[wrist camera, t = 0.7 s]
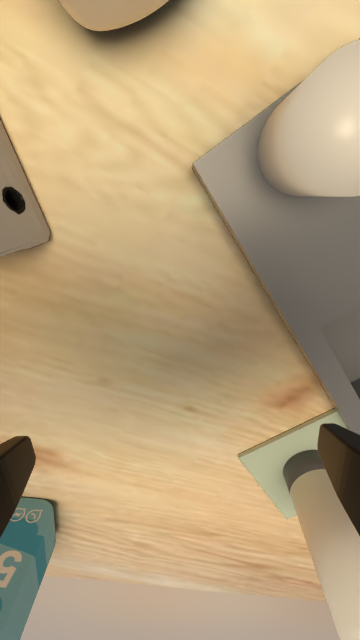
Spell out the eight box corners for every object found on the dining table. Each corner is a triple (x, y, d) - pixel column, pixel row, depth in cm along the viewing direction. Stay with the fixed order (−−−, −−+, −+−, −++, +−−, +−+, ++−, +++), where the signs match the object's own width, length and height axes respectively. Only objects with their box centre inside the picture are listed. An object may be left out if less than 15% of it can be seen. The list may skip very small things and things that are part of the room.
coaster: (285, 515, 30) (286, 519, 29) (237, 454, 27) (238, 458, 27) (376, 477, 28) (379, 481, 27) (335, 408, 25) (337, 411, 25)
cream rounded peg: (297, 496, 28) (360, 667, 18) (273, 464, 27) (327, 630, 17) (345, 475, 27) (441, 645, 17) (323, 441, 26) (413, 603, 16)
